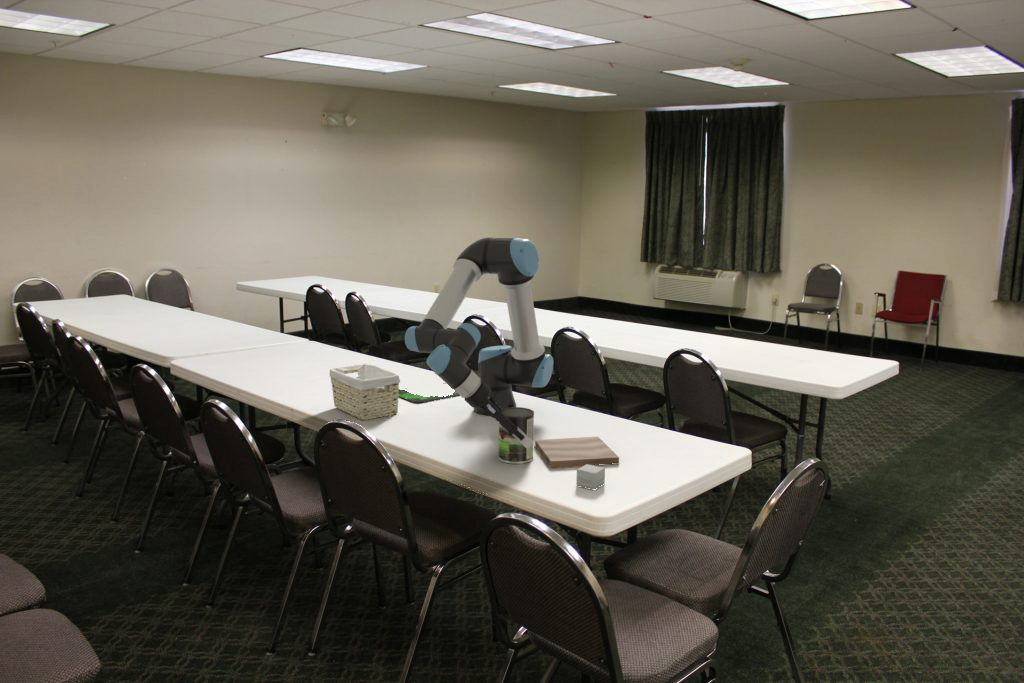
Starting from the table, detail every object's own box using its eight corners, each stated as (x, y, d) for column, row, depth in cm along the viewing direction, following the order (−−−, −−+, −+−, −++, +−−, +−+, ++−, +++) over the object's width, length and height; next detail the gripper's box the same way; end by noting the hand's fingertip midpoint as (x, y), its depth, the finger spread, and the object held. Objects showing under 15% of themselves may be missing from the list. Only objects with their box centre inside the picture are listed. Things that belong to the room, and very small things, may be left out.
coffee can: (512, 466, 223) (512, 418, 220) (491, 457, 231) (491, 410, 228) (540, 459, 229) (541, 412, 226) (519, 450, 237) (519, 405, 234)
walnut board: (535, 446, 241) (535, 440, 241) (597, 442, 245) (598, 436, 244) (551, 468, 222) (551, 461, 221) (618, 463, 226) (619, 457, 225)
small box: (605, 485, 209) (605, 467, 208) (594, 491, 205) (595, 473, 204) (586, 480, 212) (586, 463, 212) (575, 486, 208) (576, 469, 207)
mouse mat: (443, 383, 323) (443, 381, 322) (475, 394, 306) (476, 391, 306) (385, 393, 305) (385, 391, 305) (416, 405, 289) (416, 402, 289)
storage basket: (402, 415, 275) (401, 373, 272) (361, 423, 265) (359, 380, 262) (369, 401, 293) (368, 362, 291) (328, 408, 283) (327, 368, 281)
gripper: (458, 389, 234) (509, 437, 240) (469, 409, 213) (525, 461, 218) (475, 371, 234) (527, 419, 240) (488, 389, 213) (544, 442, 218)
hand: (526, 439), depth 229 cm, fingers closed on coffee can, 10 cm apart
